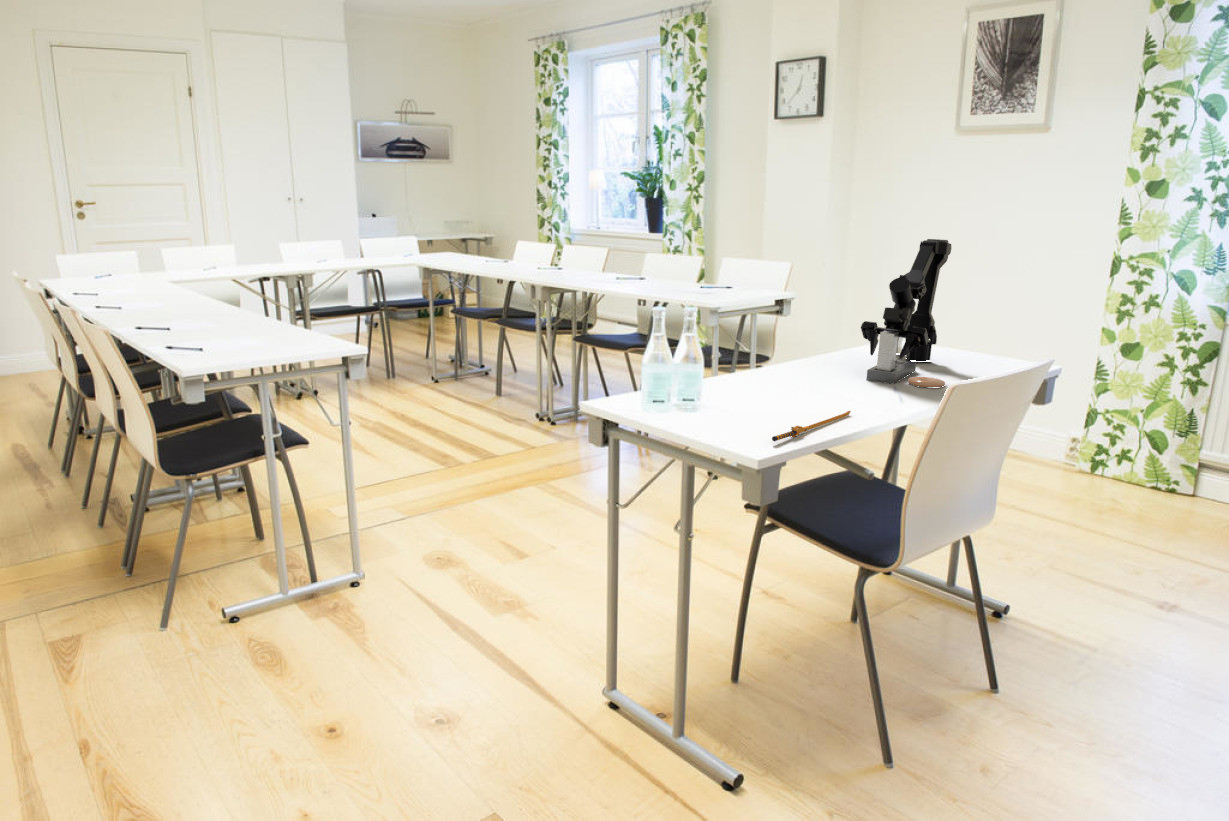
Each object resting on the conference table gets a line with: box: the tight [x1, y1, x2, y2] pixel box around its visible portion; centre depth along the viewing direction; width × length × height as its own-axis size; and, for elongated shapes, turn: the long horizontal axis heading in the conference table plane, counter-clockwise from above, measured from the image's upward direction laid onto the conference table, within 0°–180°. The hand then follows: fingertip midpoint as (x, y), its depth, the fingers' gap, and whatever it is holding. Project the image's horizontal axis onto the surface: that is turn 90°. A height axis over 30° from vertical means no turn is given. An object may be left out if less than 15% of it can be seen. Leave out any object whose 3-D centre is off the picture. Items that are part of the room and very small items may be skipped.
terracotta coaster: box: [907, 376, 946, 388], centre depth 246 cm, size 10×10×1 cm
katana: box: [771, 410, 852, 442], centre depth 200 cm, size 1×35×3 cm, turn 138°
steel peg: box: [876, 331, 899, 372], centre depth 249 cm, size 4×4×14 cm
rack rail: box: [866, 359, 917, 384], centre depth 256 cm, size 20×8×3 cm, turn 145°
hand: (885, 356), depth 248 cm, fingers open, 8 cm apart
